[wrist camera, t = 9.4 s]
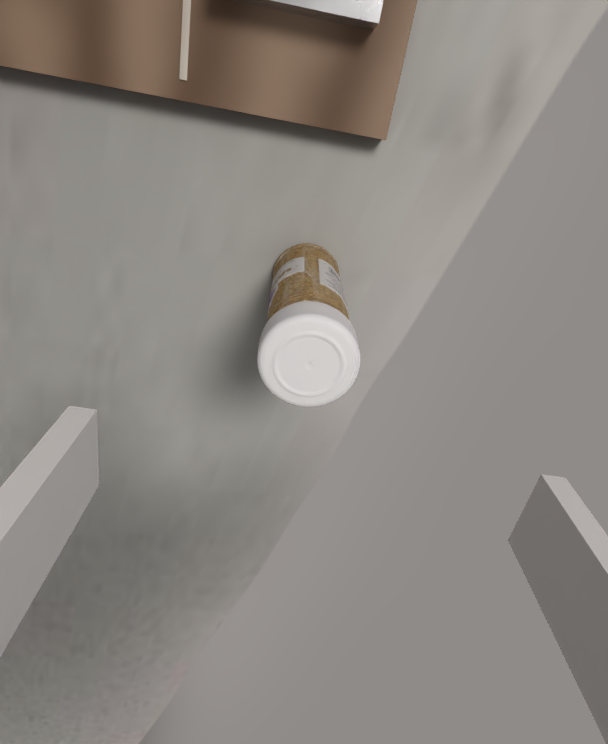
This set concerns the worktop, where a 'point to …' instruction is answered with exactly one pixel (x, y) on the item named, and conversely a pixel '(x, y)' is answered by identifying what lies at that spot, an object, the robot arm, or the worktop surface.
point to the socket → (330, 10)
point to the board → (219, 55)
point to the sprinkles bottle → (308, 331)
